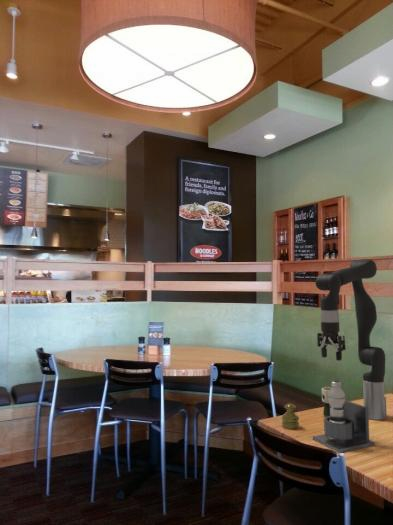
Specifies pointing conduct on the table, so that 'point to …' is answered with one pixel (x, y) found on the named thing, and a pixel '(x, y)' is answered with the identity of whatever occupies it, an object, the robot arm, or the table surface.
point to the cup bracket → (347, 430)
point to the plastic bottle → (336, 403)
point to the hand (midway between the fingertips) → (331, 358)
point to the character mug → (326, 401)
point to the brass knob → (290, 418)
